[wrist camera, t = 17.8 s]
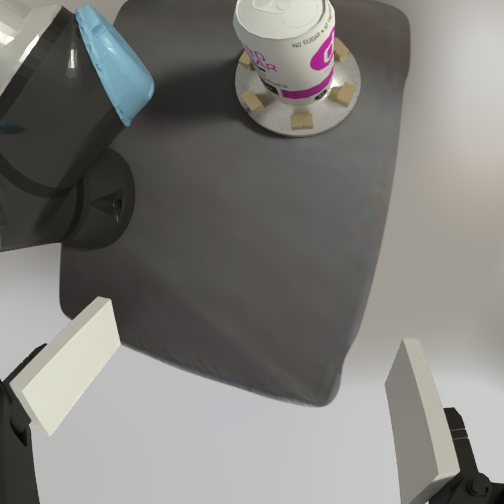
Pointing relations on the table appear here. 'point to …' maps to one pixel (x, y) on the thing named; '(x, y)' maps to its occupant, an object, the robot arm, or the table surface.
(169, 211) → the table surface
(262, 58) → the supplement can
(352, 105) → the ring plate
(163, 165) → the table surface
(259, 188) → the table surface
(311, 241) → the table surface
